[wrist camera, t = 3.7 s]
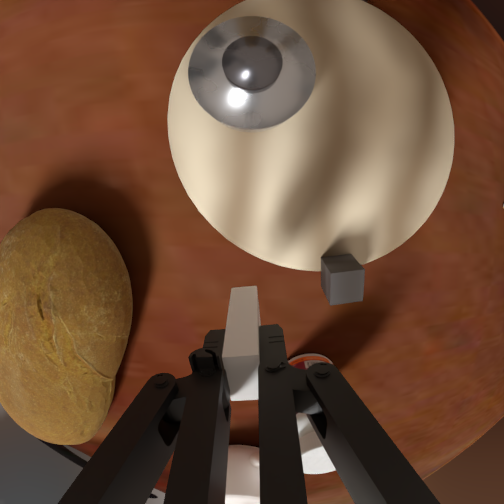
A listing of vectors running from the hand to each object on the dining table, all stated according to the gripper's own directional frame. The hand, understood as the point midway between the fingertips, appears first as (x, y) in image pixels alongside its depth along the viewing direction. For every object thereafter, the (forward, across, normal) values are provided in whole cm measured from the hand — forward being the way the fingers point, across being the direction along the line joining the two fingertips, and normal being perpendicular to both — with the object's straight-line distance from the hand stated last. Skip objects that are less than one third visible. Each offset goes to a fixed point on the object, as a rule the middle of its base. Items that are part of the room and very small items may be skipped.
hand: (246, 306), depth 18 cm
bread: (+8, -24, -8) cm, 26 cm away
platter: (+6, +7, +10) cm, 13 cm away
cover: (+4, +2, +14) cm, 15 cm away
